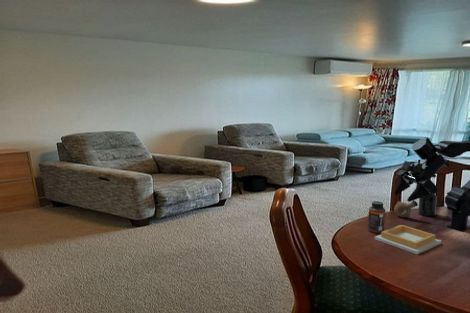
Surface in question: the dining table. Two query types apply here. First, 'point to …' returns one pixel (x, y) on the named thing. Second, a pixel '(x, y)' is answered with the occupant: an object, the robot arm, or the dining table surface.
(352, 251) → the dining table surface
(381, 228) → the supplement bottle
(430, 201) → the supplement bottle
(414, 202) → the oil lamp
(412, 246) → the plate
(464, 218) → the robot arm
